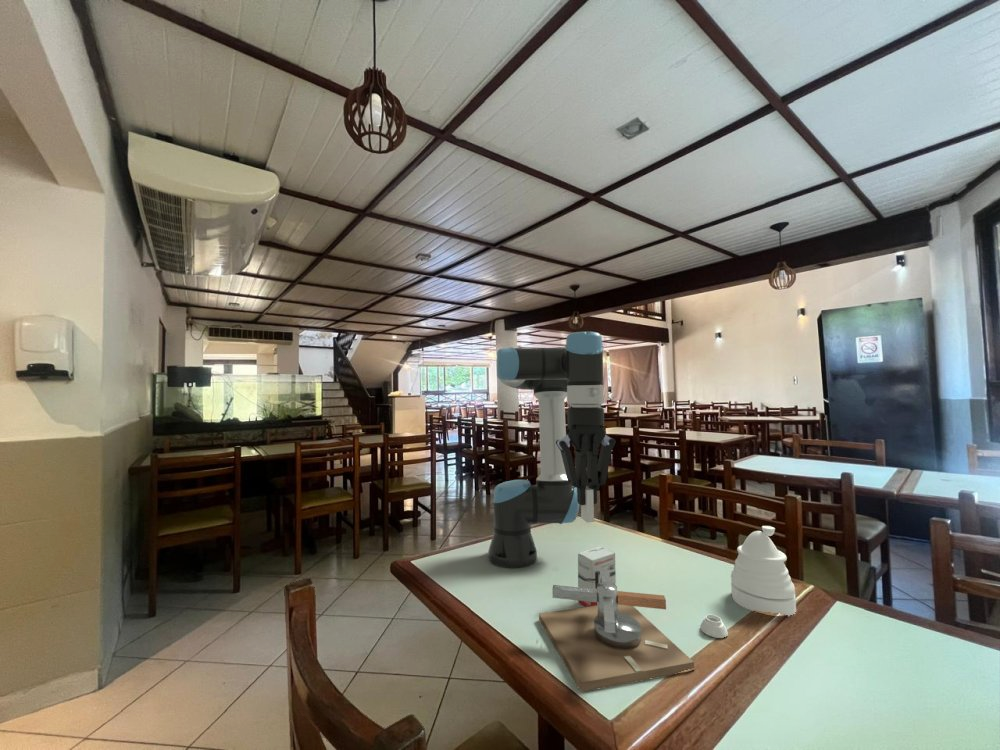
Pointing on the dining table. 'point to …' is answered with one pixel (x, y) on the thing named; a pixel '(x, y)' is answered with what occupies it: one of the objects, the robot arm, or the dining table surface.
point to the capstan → (612, 610)
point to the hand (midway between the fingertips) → (587, 520)
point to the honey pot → (762, 576)
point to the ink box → (594, 569)
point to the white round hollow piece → (713, 626)
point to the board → (610, 650)
